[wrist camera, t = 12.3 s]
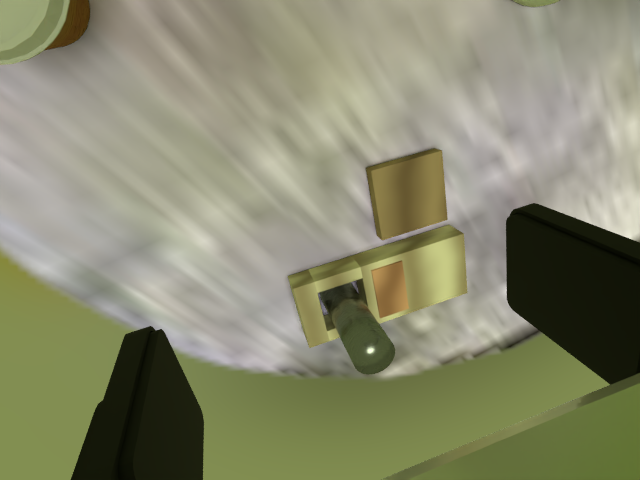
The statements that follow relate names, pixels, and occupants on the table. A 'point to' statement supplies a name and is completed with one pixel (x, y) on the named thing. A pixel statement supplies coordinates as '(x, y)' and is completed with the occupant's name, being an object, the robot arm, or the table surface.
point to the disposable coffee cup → (39, 26)
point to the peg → (358, 329)
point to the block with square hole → (386, 280)
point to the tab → (407, 193)
